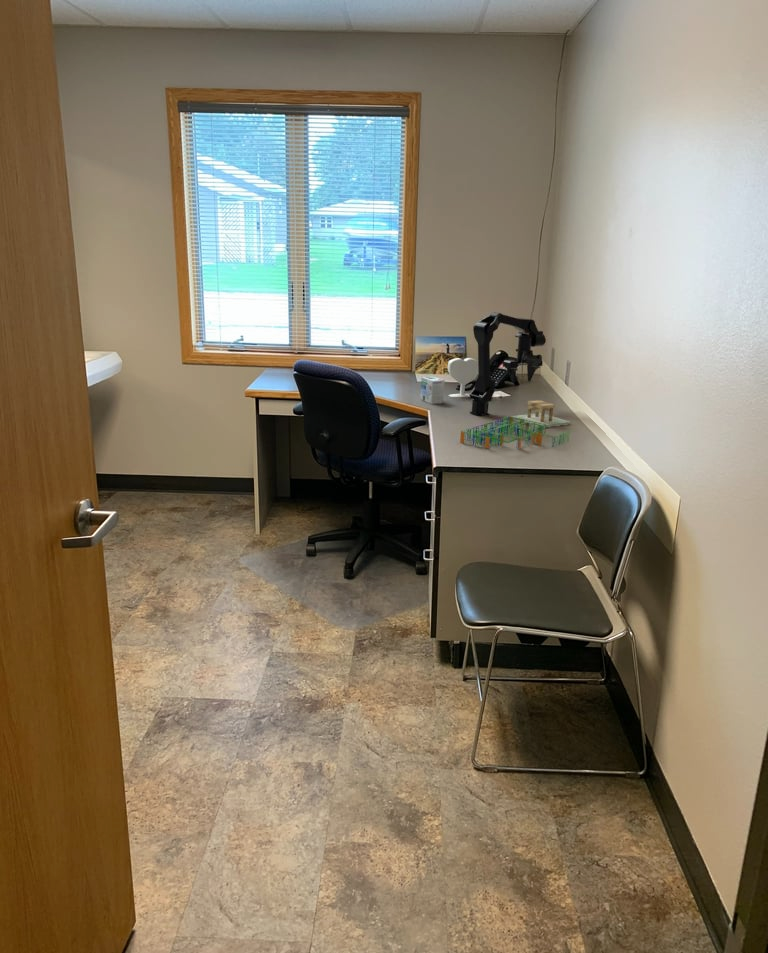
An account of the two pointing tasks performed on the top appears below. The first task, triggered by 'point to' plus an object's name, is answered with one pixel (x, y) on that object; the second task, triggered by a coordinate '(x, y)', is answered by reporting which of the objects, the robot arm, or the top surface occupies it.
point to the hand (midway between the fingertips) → (521, 382)
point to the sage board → (548, 423)
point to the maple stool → (540, 409)
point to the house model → (520, 427)
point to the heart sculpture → (463, 373)
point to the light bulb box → (432, 390)
